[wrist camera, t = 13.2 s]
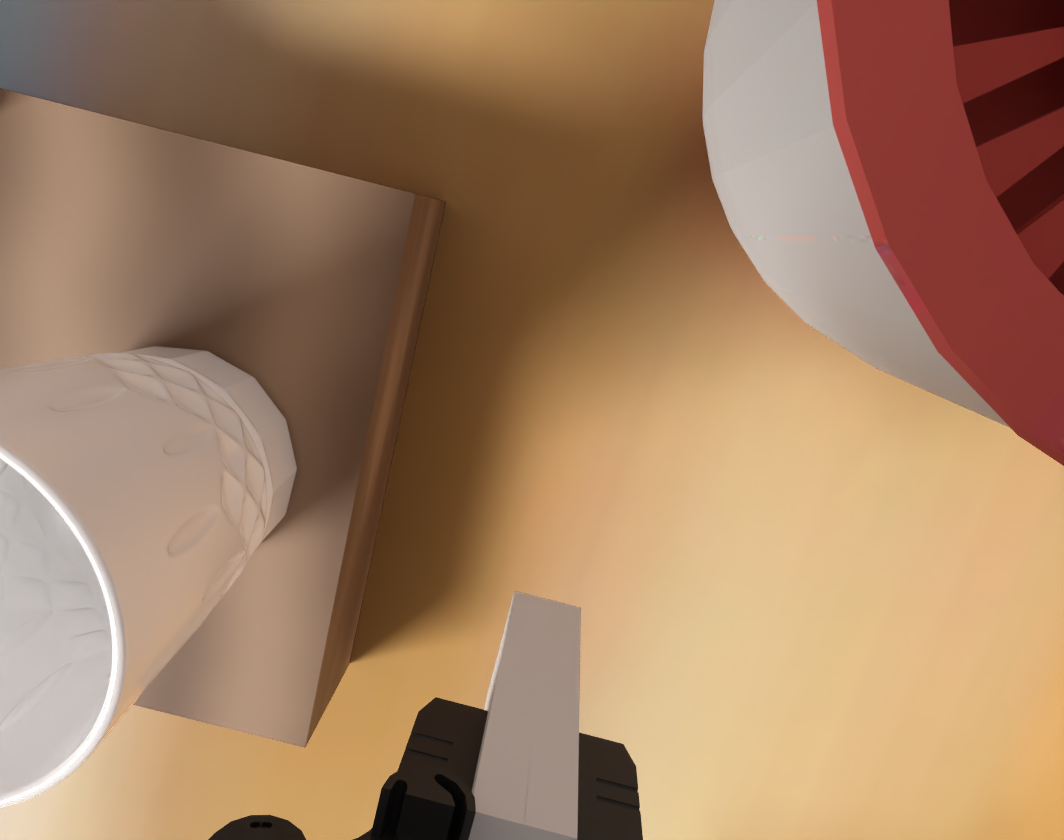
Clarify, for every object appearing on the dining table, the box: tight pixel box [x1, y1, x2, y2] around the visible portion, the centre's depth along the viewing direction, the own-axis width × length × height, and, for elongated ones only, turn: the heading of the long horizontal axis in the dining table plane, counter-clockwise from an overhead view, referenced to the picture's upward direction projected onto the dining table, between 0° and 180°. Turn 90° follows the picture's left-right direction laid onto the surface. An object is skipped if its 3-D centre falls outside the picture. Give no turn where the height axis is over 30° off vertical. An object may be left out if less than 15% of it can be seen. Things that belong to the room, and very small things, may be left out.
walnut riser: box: [0, 88, 446, 748], centre depth 25 cm, size 12×18×5 cm, turn 166°
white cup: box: [0, 346, 297, 808], centre depth 18 cm, size 8×8×10 cm
